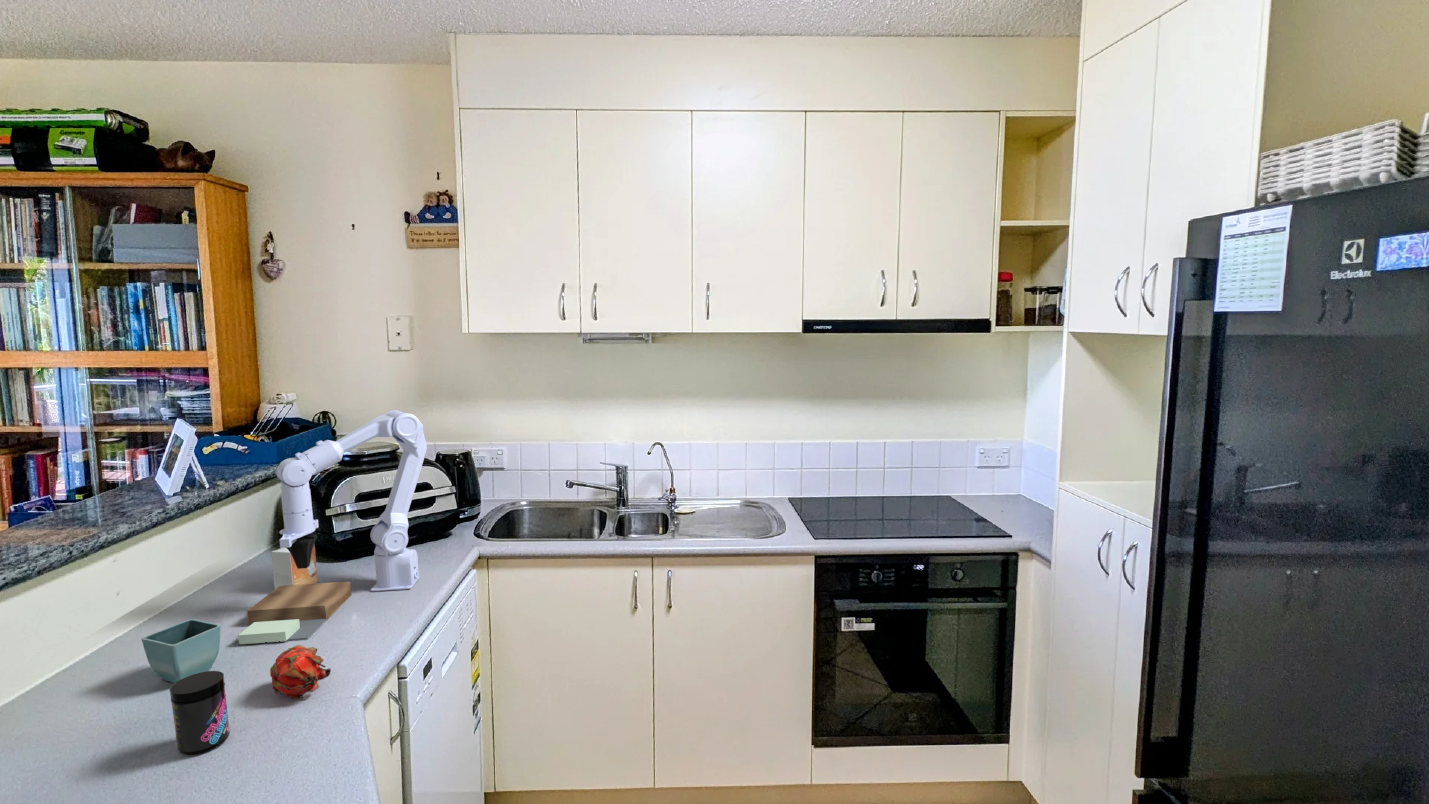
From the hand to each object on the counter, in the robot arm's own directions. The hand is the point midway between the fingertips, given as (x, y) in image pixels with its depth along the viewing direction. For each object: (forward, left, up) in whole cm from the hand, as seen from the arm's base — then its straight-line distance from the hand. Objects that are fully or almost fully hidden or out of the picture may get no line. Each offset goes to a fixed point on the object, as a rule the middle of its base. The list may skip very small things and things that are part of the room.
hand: (303, 567), depth 154 cm
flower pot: (+9, +29, -10) cm, 32 cm away
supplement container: (-7, +52, -10) cm, 54 cm away
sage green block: (+1, +15, -7) cm, 17 cm away
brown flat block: (+1, +1, -10) cm, 10 cm away
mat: (0, +13, -10) cm, 16 cm away
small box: (+9, -14, -10) cm, 19 cm away
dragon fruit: (-15, +38, -10) cm, 42 cm away
